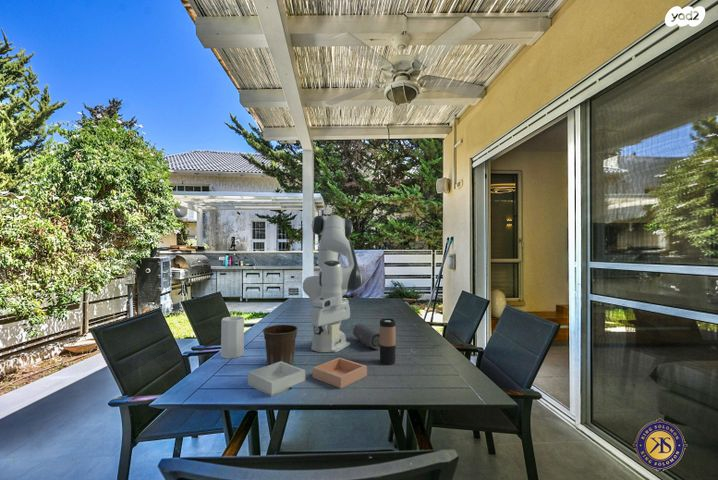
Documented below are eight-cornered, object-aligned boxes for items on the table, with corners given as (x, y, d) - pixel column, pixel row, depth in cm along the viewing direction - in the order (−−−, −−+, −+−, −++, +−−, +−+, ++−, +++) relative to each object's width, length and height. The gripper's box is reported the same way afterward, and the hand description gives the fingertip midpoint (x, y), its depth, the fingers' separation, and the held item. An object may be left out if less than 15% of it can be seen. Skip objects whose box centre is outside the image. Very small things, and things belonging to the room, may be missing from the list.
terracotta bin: (339, 368, 146) (339, 357, 146) (366, 377, 136) (366, 365, 136) (312, 379, 133) (312, 367, 134) (340, 390, 123) (341, 377, 123)
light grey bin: (281, 372, 141) (281, 361, 141) (305, 382, 130) (305, 370, 131) (247, 384, 128) (248, 372, 128) (271, 396, 118) (271, 383, 118)
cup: (247, 352, 168) (248, 316, 168) (237, 359, 157) (238, 321, 157) (227, 351, 169) (228, 315, 170) (216, 358, 158) (216, 320, 158)
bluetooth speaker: (351, 340, 189) (352, 323, 190) (366, 338, 193) (366, 322, 194) (369, 352, 169) (369, 333, 169) (384, 349, 173) (384, 331, 173)
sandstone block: (331, 336, 137) (331, 322, 137) (339, 338, 134) (339, 323, 135) (323, 338, 134) (324, 323, 134) (331, 340, 131) (331, 325, 131)
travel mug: (376, 363, 153) (377, 320, 153) (383, 358, 159) (383, 317, 160) (392, 366, 149) (392, 322, 149) (397, 361, 156) (398, 319, 156)
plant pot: (289, 370, 143) (289, 334, 143) (255, 368, 146) (256, 332, 146) (302, 358, 159) (303, 325, 159) (272, 356, 162) (272, 323, 162)
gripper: (342, 296, 145) (342, 327, 144) (308, 302, 129) (308, 337, 128) (353, 297, 141) (353, 329, 140) (319, 304, 125) (319, 340, 124)
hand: (331, 333), depth 134 cm, fingers closed on sandstone block, 4 cm apart
